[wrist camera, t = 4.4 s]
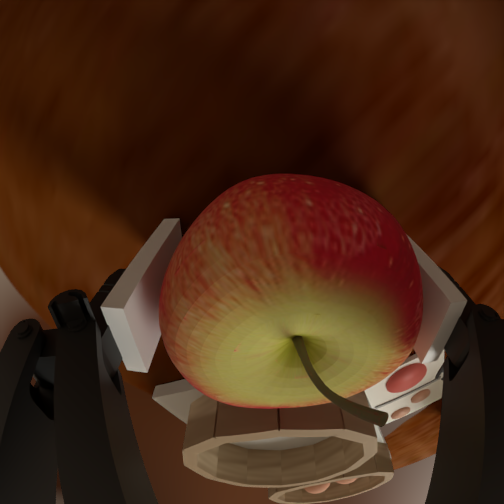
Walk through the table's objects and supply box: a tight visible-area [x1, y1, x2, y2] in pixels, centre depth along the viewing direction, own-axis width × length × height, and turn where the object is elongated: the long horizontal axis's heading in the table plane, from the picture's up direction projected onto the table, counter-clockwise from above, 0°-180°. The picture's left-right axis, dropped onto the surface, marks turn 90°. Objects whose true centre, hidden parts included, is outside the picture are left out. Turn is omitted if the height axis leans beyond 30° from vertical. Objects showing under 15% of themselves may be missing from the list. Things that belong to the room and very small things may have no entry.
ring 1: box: [182, 391, 377, 488], centre depth 18 cm, size 14×14×4 cm
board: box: [152, 379, 391, 458], centre depth 23 cm, size 29×14×1 cm, turn 28°
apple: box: [159, 174, 423, 427], centre depth 9 cm, size 8×8×10 cm
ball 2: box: [335, 478, 357, 484], centre depth 23 cm, size 4×4×4 cm
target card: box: [364, 350, 444, 424], centre depth 19 cm, size 10×7×1 cm
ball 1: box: [304, 483, 330, 494], centre depth 24 cm, size 4×4×4 cm
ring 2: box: [268, 442, 394, 504], centre depth 23 cm, size 14×14×4 cm
